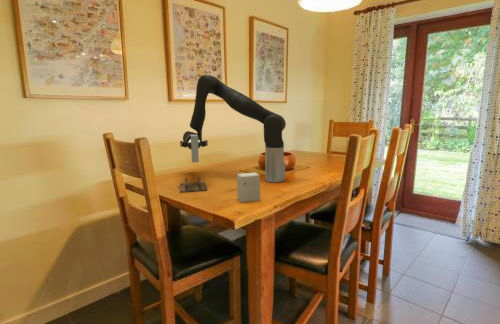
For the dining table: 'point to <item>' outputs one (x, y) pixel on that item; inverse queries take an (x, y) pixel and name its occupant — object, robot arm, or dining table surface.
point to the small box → (248, 187)
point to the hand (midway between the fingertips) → (194, 145)
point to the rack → (192, 186)
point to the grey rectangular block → (194, 148)
